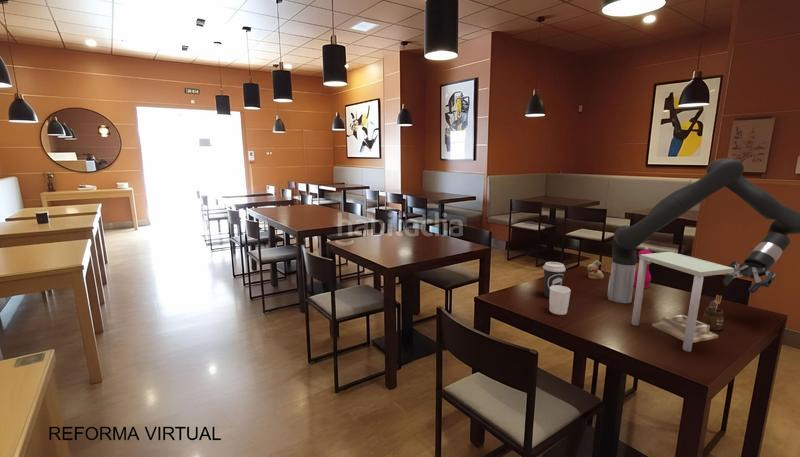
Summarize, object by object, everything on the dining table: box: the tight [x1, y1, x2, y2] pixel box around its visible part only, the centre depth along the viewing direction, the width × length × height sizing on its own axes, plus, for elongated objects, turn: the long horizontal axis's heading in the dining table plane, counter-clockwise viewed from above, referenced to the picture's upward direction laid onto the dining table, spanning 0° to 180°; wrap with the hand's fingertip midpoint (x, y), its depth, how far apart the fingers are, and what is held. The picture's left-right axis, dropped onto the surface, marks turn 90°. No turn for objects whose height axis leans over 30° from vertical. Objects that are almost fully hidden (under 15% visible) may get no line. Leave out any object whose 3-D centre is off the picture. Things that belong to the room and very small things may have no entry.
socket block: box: [651, 314, 719, 343], centre depth 140 cm, size 14×14×4 cm
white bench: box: [631, 251, 734, 353], centre depth 136 cm, size 15×22×28 cm
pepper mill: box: [633, 246, 653, 289], centre depth 186 cm, size 7×7×20 cm
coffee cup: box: [542, 261, 567, 298], centre depth 174 cm, size 10×10×15 cm
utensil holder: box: [702, 294, 724, 331], centre depth 143 cm, size 6×6×12 cm
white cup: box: [548, 285, 572, 316], centre depth 157 cm, size 8×8×10 cm
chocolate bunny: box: [586, 259, 605, 280], centre depth 200 cm, size 6×8×10 cm
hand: (737, 288), depth 144 cm, fingers open, 8 cm apart
